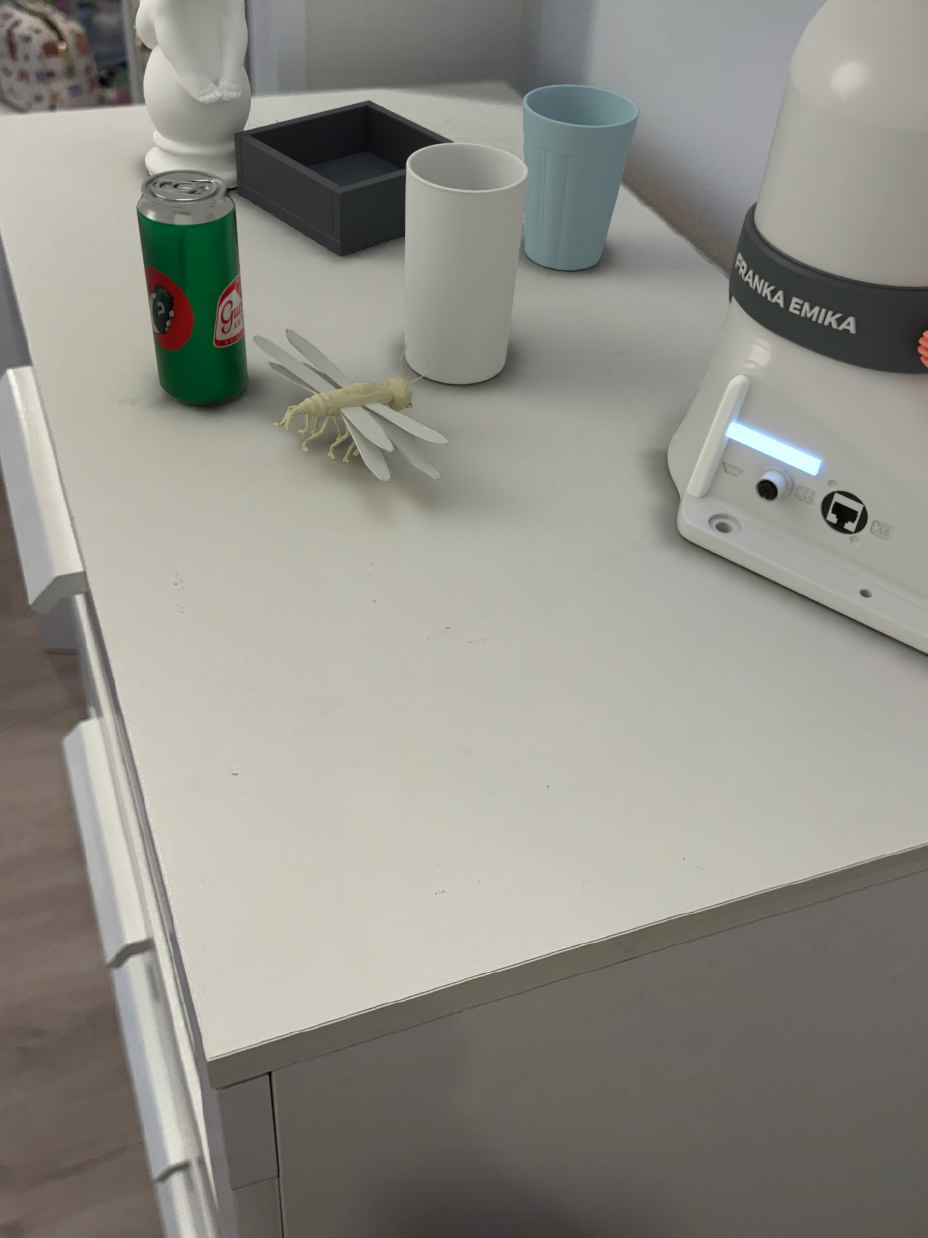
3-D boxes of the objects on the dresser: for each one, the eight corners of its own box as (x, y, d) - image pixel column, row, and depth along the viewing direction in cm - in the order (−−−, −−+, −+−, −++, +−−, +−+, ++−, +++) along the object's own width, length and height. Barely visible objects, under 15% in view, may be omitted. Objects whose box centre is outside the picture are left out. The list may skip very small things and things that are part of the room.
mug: (515, 388, 71) (536, 193, 62) (403, 388, 70) (409, 190, 62) (497, 306, 78) (513, 122, 70) (395, 305, 77) (400, 119, 69)
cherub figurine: (246, 204, 87) (223, -145, 72) (79, 191, 87) (21, -161, 72) (273, 142, 96) (257, -180, 81) (121, 130, 96) (77, -194, 81)
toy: (211, 412, 67) (204, 333, 63) (341, 366, 71) (340, 290, 68) (364, 546, 59) (364, 465, 56) (498, 486, 63) (507, 407, 60)
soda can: (241, 413, 67) (224, 209, 59) (152, 408, 67) (123, 202, 59) (254, 367, 71) (241, 169, 62) (170, 361, 70) (145, 162, 62)
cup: (577, 222, 88) (596, 77, 81) (637, 266, 84) (663, 116, 76) (490, 239, 85) (502, 91, 78) (547, 286, 81) (565, 132, 73)
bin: (473, 212, 88) (478, 152, 85) (340, 256, 82) (339, 193, 79) (368, 156, 95) (369, 99, 92) (237, 193, 88) (233, 132, 85)
